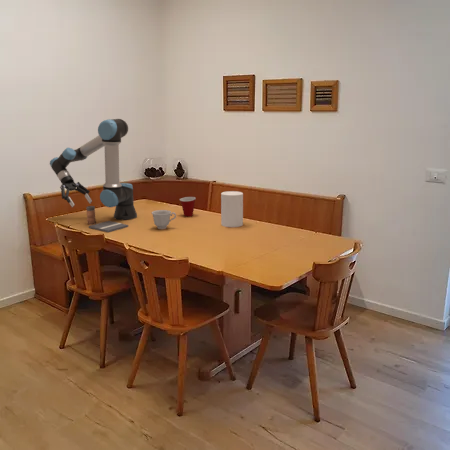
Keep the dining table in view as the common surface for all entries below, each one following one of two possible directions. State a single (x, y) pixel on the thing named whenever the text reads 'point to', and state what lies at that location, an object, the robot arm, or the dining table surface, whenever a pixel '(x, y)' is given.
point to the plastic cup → (188, 205)
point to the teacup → (162, 218)
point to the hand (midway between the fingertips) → (82, 204)
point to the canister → (232, 209)
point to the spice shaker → (91, 215)
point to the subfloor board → (108, 226)
